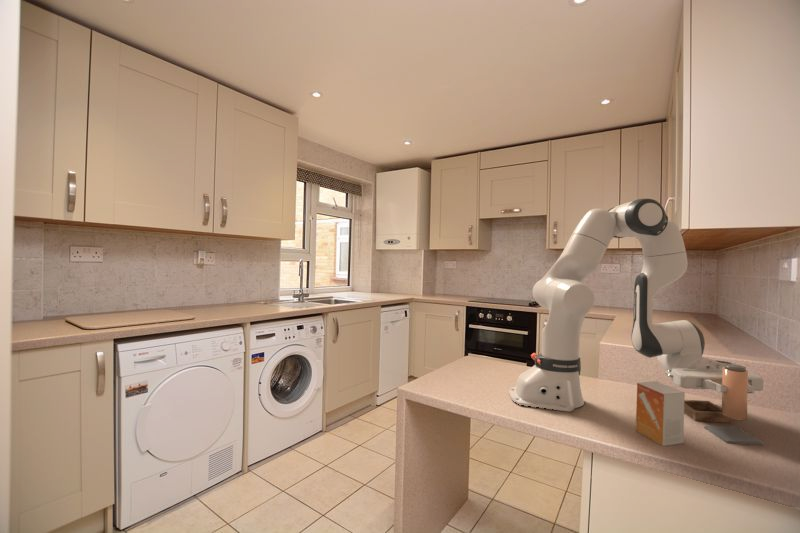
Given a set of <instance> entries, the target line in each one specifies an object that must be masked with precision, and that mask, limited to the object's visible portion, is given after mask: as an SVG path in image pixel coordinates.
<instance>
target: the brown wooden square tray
mask: <svg viewBox="0 0 800 533" xmlns="http://www.w3.org/2000/svg"><path fill="white" fill-rule="evenodd" d="M684 415H686V416H688V417H690V419H692V420H694V421H695V422H713V423H715V422H717V423H732V420H733V419H732V418H729V417H726V416H724V415H723V414H722V407H720V406H718V405H717V404H714V403H713V402H711V401H710V400H698V399H697V400H695V399H684Z"/></svg>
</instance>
